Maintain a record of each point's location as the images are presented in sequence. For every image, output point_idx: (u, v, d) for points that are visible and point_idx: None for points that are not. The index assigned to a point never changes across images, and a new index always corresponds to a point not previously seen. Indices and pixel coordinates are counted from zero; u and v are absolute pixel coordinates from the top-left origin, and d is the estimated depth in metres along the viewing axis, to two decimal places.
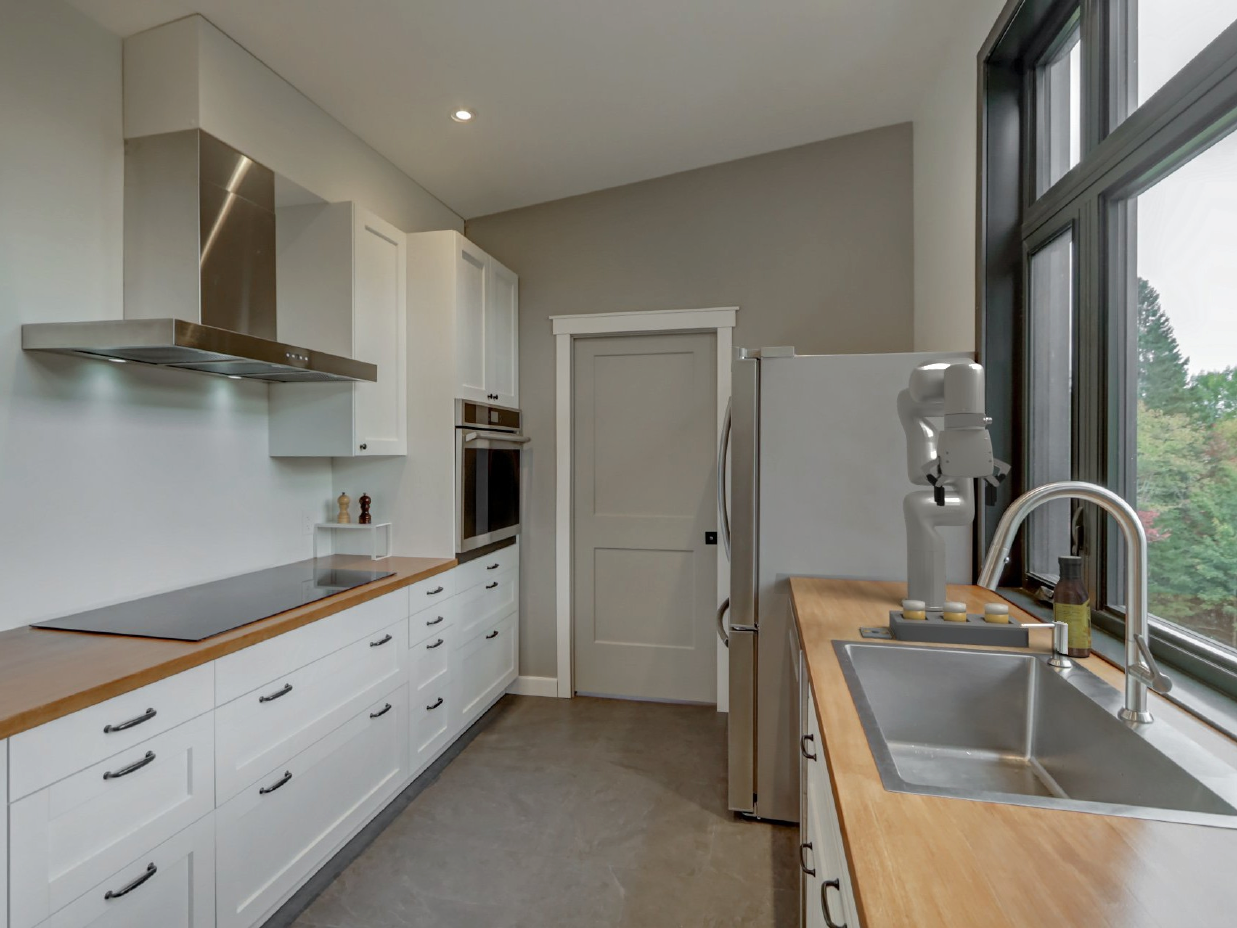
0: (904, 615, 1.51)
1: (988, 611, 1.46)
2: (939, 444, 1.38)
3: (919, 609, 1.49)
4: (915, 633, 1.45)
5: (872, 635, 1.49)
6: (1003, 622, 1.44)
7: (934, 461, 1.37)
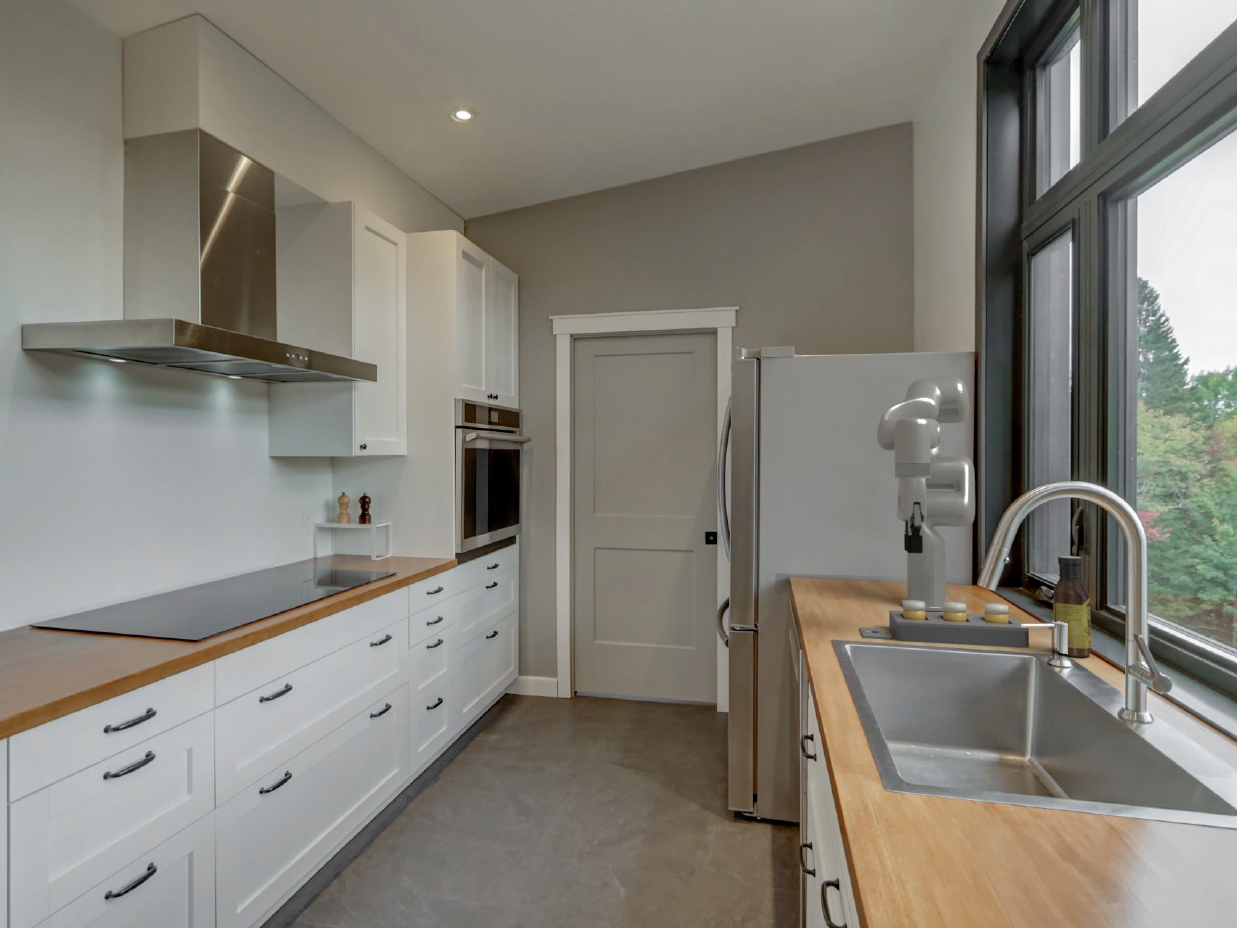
0: (904, 615, 1.51)
1: (988, 611, 1.46)
2: (916, 491, 1.46)
3: (919, 609, 1.49)
4: (915, 633, 1.45)
5: (872, 635, 1.49)
6: (1003, 622, 1.44)
7: (919, 513, 1.46)
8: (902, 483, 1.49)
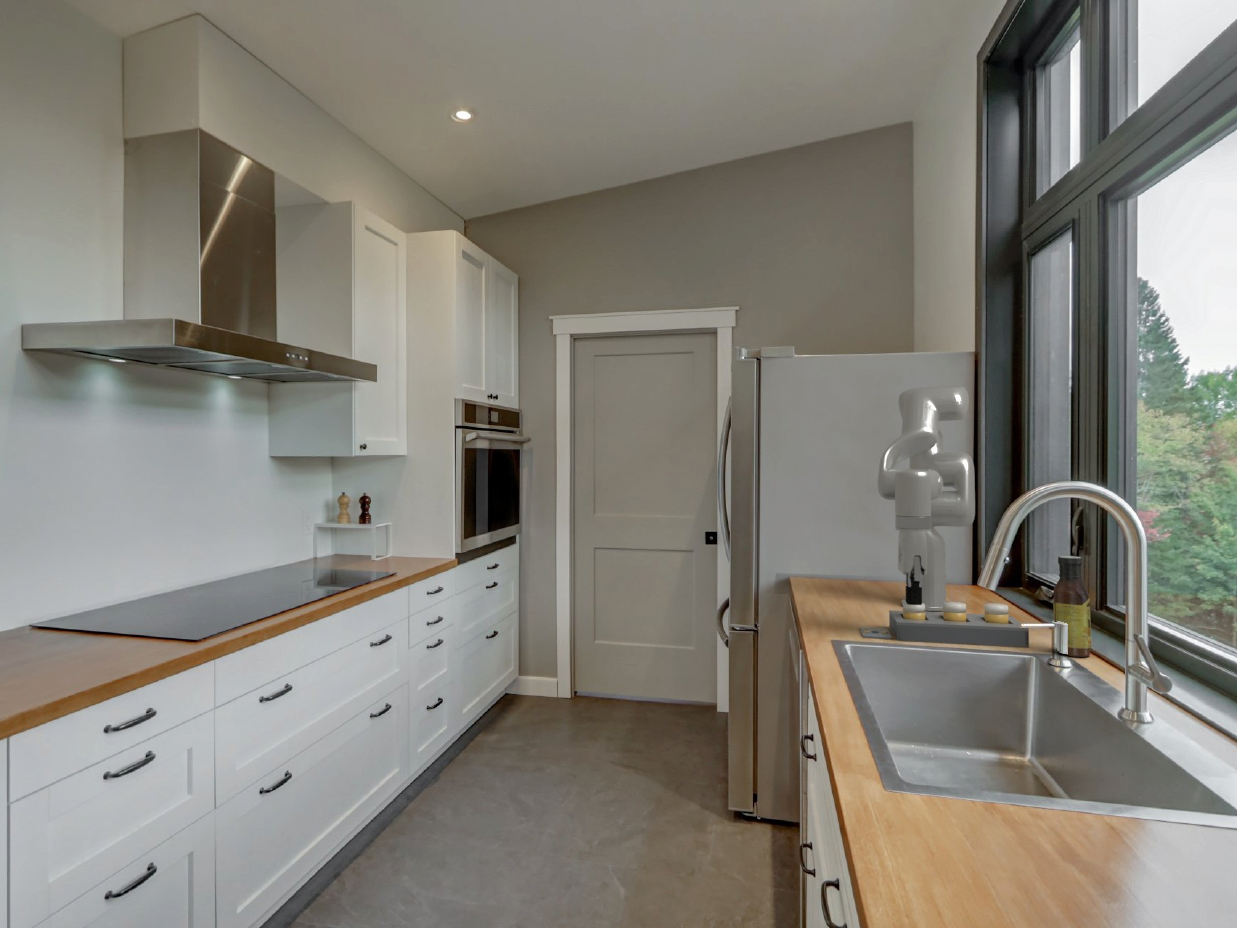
0: (904, 617, 1.51)
1: (988, 611, 1.46)
2: (916, 544, 1.46)
3: (919, 611, 1.49)
4: (915, 633, 1.45)
5: (872, 635, 1.49)
6: (1003, 622, 1.44)
7: (919, 567, 1.46)
8: (903, 536, 1.49)
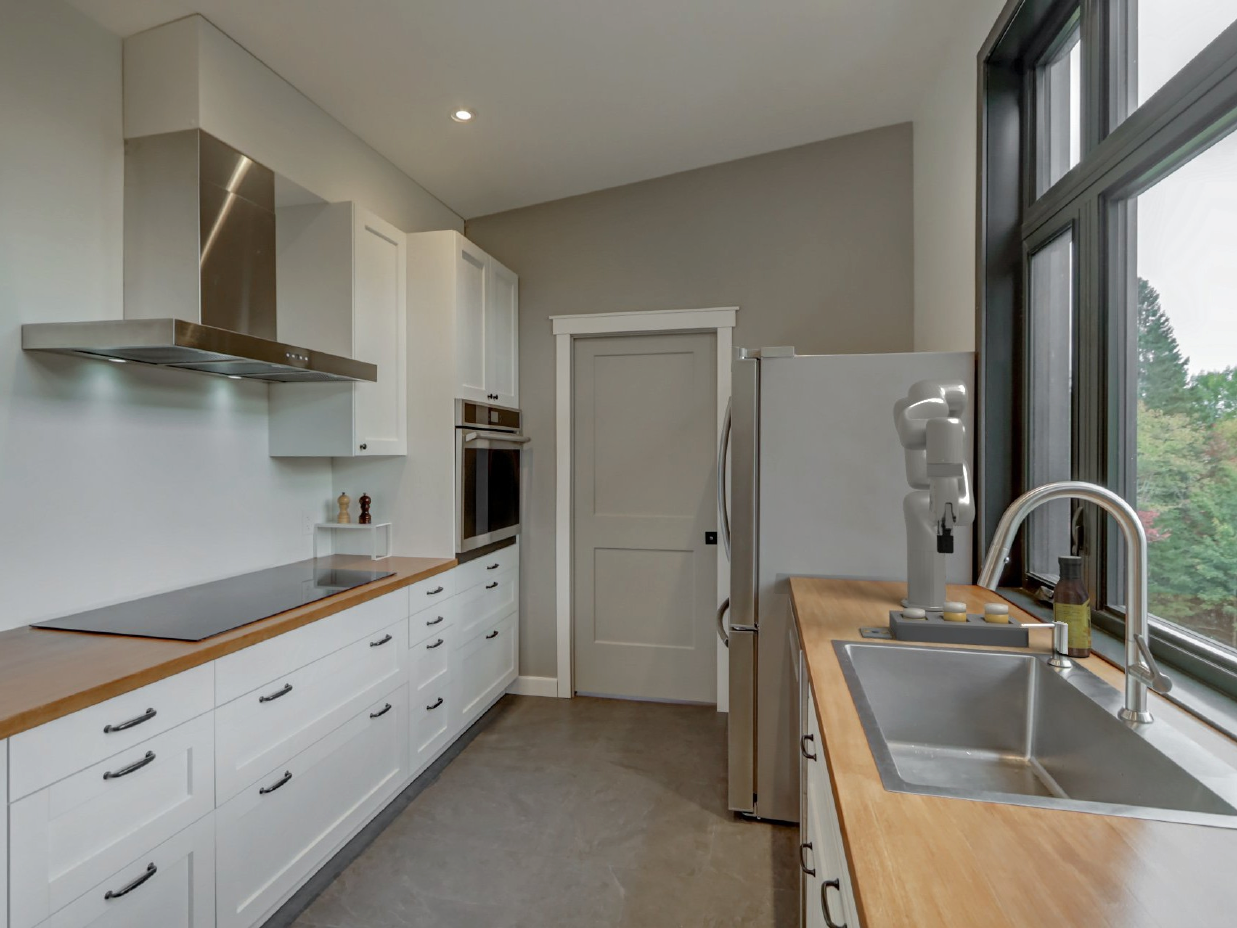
0: None
1: (988, 611, 1.46)
2: (947, 491, 1.45)
3: (919, 617, 1.49)
4: (915, 633, 1.45)
5: (872, 635, 1.49)
6: (1003, 622, 1.44)
7: None
8: (933, 483, 1.47)
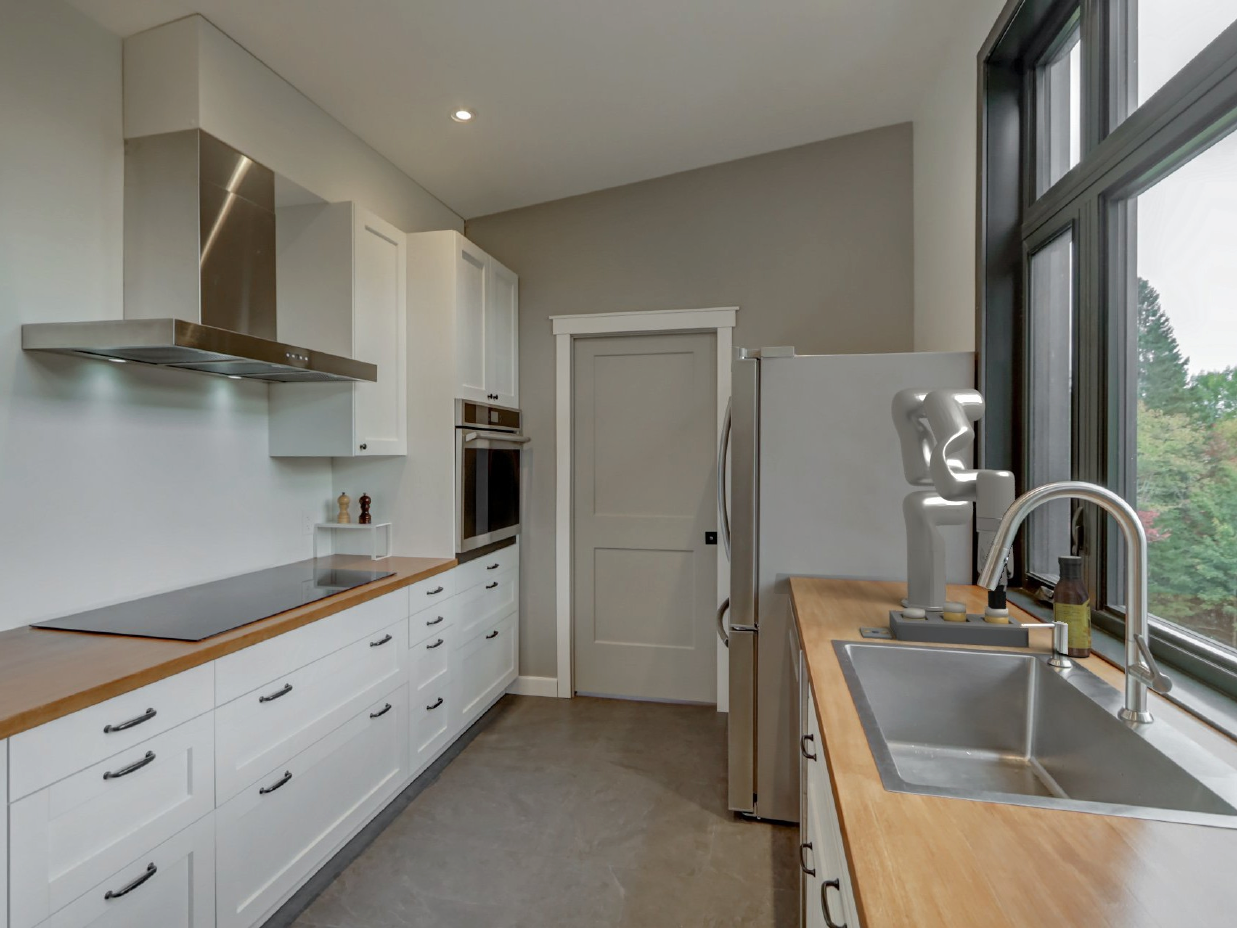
0: None
1: (988, 614, 1.46)
2: None
3: (919, 617, 1.49)
4: (915, 633, 1.45)
5: (872, 635, 1.49)
6: None
7: None
8: (986, 538, 1.45)
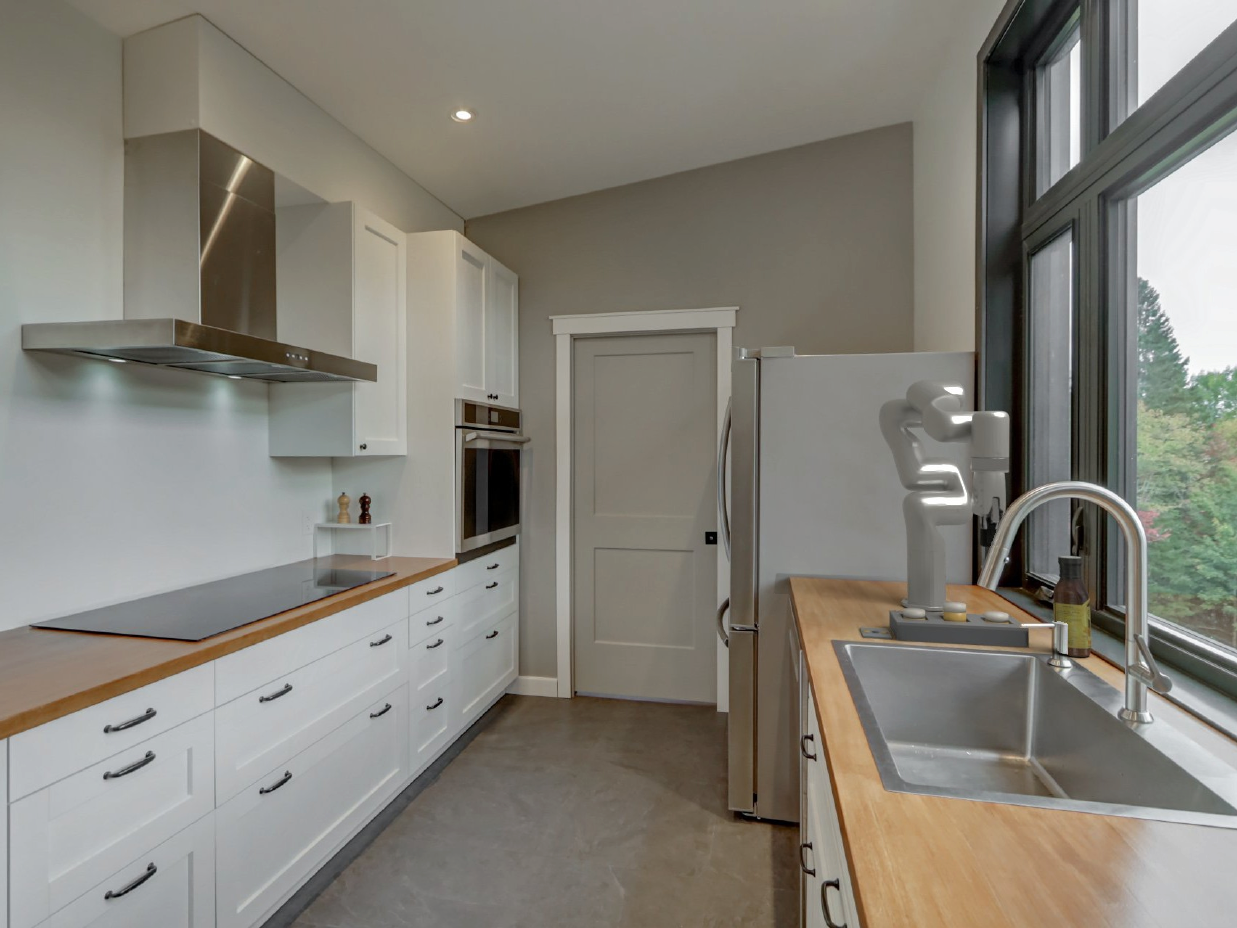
0: None
1: (988, 619, 1.46)
2: (995, 486, 1.44)
3: (919, 617, 1.49)
4: (915, 633, 1.45)
5: (872, 635, 1.49)
6: None
7: None
8: (980, 477, 1.47)
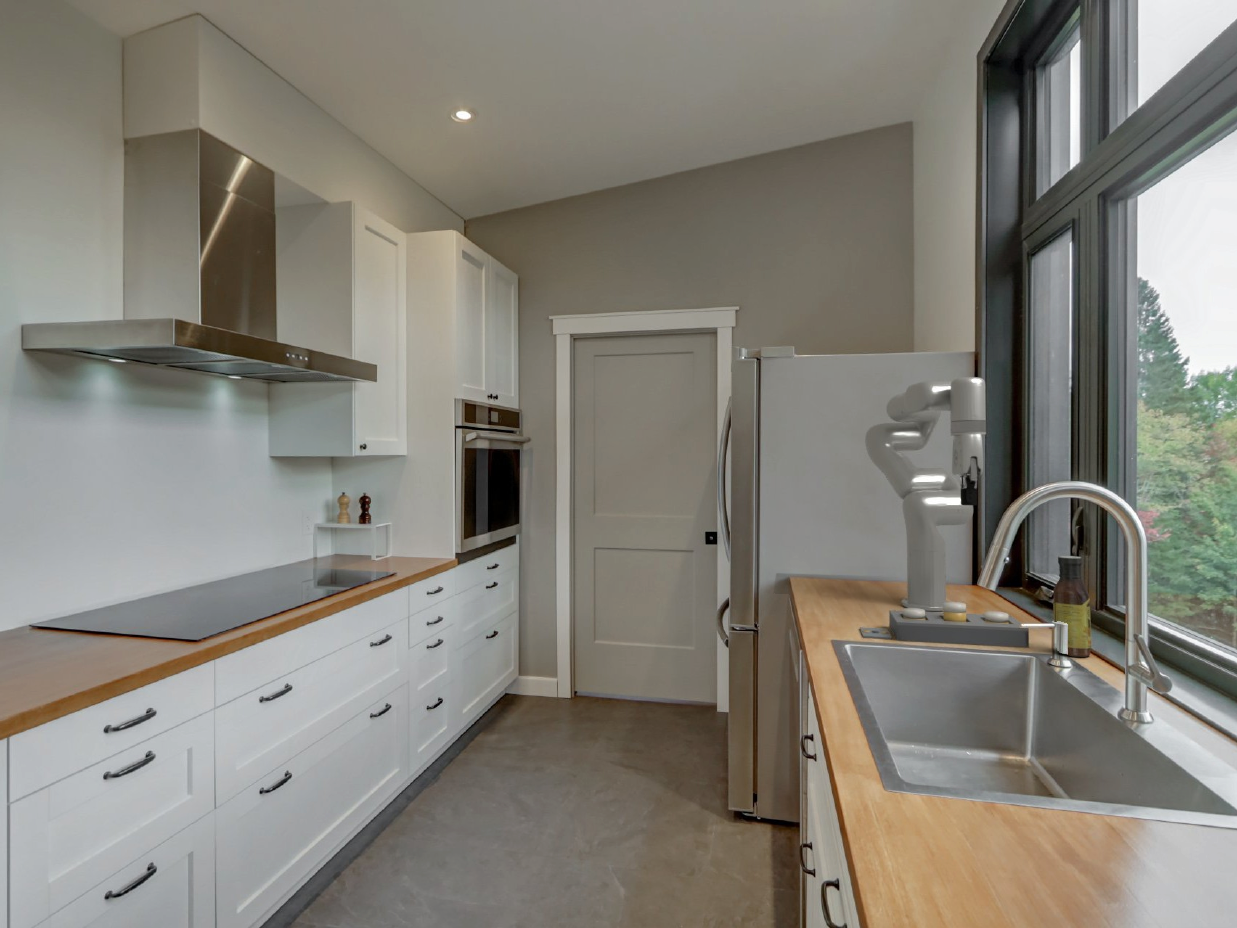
0: None
1: (988, 619, 1.46)
2: (973, 446, 1.54)
3: (919, 617, 1.49)
4: (915, 633, 1.45)
5: (872, 635, 1.49)
6: None
7: (976, 468, 1.54)
8: (959, 439, 1.57)
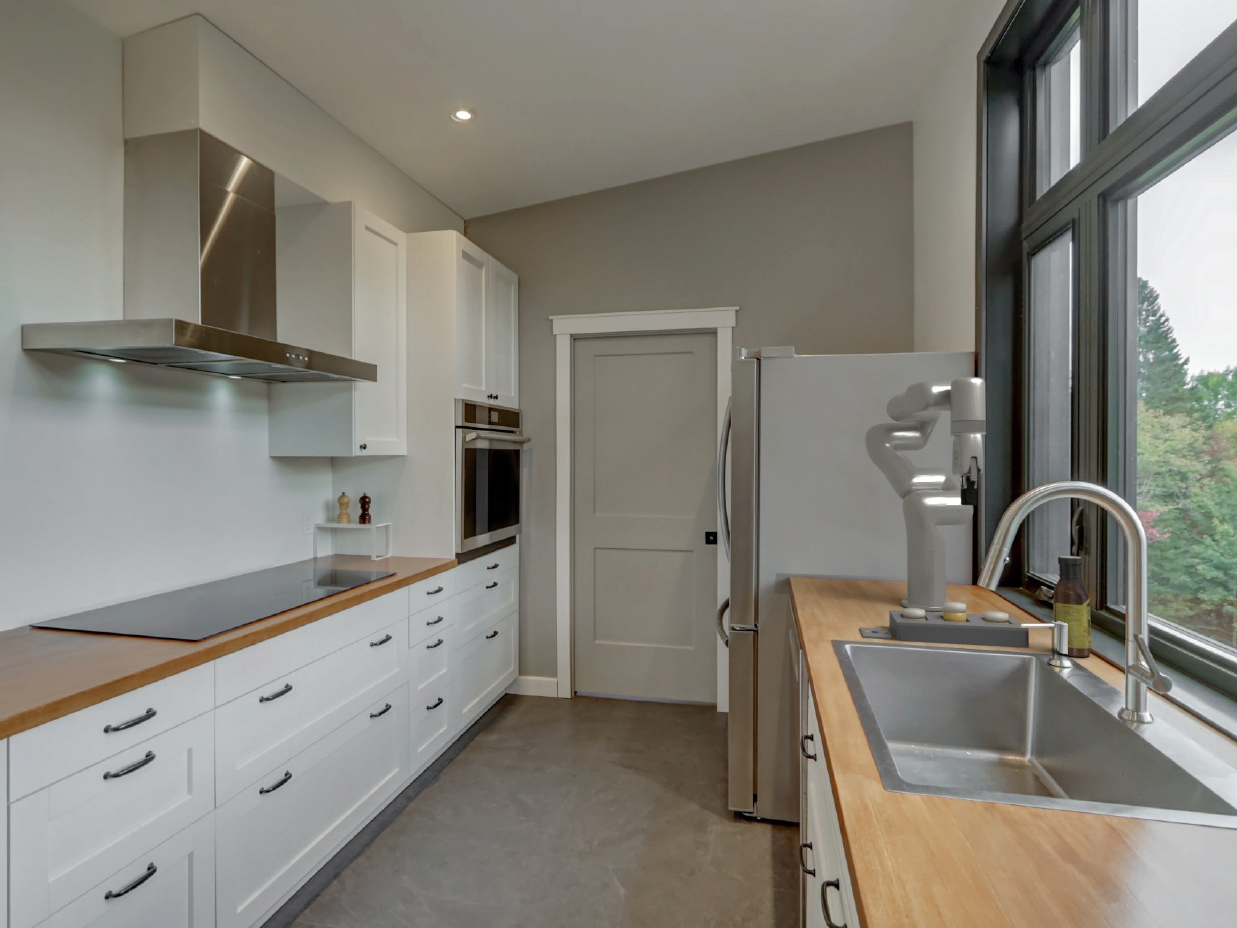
0: None
1: (988, 619, 1.46)
2: (973, 446, 1.54)
3: (919, 617, 1.49)
4: (915, 633, 1.45)
5: (872, 635, 1.49)
6: None
7: (976, 468, 1.54)
8: (959, 439, 1.57)
